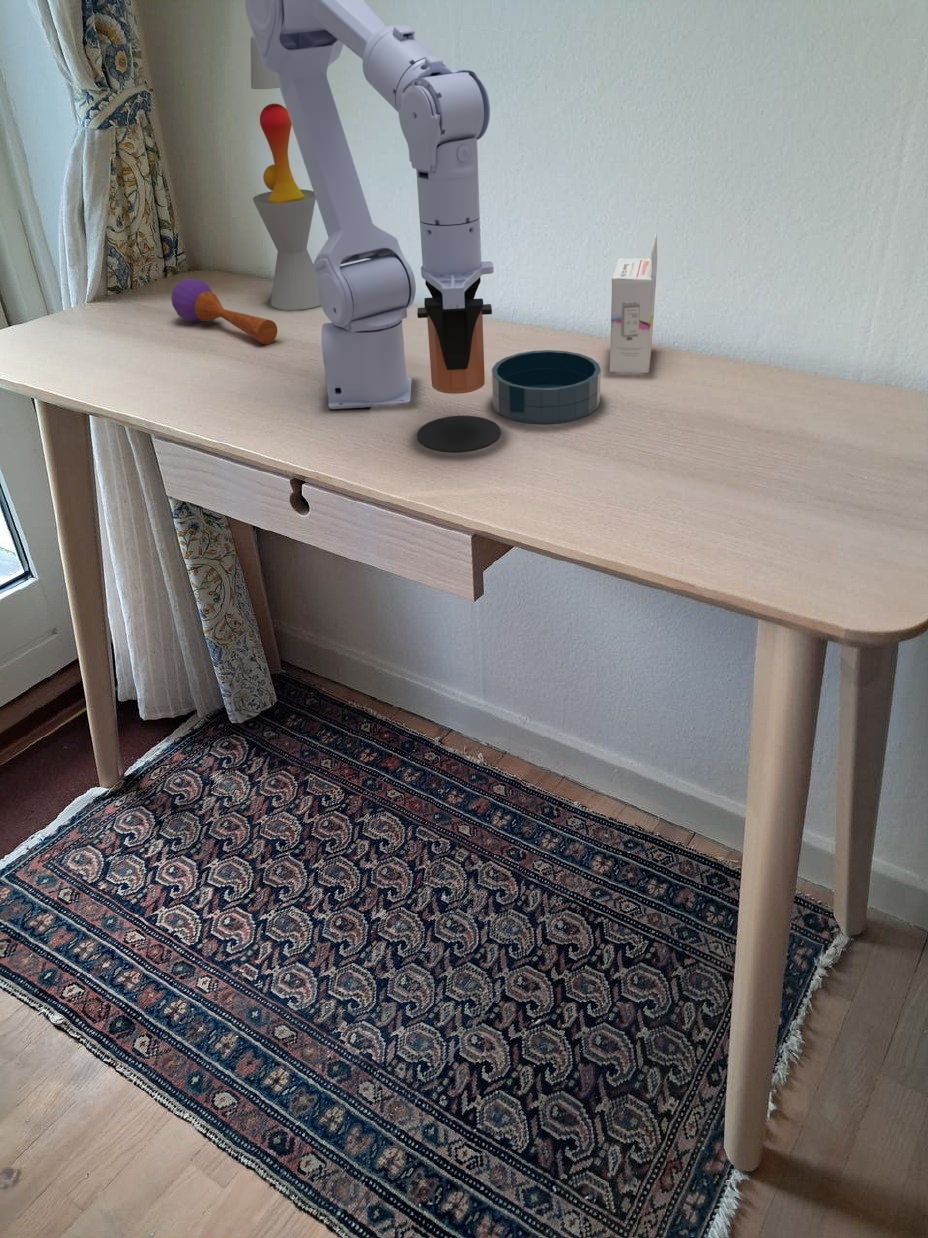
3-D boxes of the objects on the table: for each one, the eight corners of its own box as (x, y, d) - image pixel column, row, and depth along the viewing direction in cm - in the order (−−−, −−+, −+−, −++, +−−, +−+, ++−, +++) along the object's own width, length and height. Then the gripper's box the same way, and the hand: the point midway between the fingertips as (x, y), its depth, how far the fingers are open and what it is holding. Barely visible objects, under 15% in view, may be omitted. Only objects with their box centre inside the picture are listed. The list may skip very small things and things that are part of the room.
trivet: (416, 459, 102) (416, 452, 102) (418, 424, 110) (417, 417, 109) (503, 455, 102) (502, 448, 102) (498, 420, 109) (498, 413, 109)
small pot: (422, 395, 100) (416, 317, 96) (423, 375, 105) (417, 300, 100) (494, 391, 100) (492, 313, 96) (492, 372, 105) (490, 296, 100)
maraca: (244, 322, 129) (157, 284, 140) (256, 361, 133) (171, 322, 144) (278, 302, 132) (191, 267, 142) (289, 341, 136) (203, 304, 147)
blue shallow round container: (495, 431, 107) (494, 392, 104) (490, 389, 117) (489, 352, 114) (605, 426, 107) (607, 386, 104) (591, 384, 117) (592, 347, 114)
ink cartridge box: (612, 351, 125) (617, 230, 117) (651, 352, 125) (659, 231, 116) (607, 376, 119) (611, 250, 110) (648, 377, 118) (656, 250, 109)
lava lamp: (341, 298, 149) (310, 30, 129) (294, 314, 144) (254, 37, 124) (303, 288, 154) (268, 29, 134) (257, 303, 149) (213, 35, 129)
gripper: (495, 235, 87) (499, 382, 95) (488, 199, 99) (492, 332, 107) (416, 239, 87) (426, 385, 95) (418, 202, 99) (427, 335, 107)
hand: (456, 357), depth 101 cm, fingers closed on small pot, 5 cm apart
